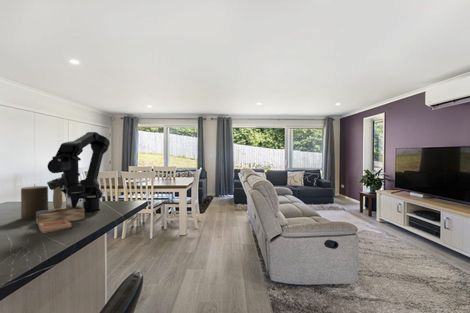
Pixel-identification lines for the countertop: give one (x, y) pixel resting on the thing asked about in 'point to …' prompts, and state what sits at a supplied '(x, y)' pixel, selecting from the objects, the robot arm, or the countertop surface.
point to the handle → (57, 198)
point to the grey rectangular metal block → (44, 212)
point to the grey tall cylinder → (69, 203)
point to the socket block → (62, 215)
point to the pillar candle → (33, 201)
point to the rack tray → (54, 226)
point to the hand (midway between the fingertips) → (71, 206)
